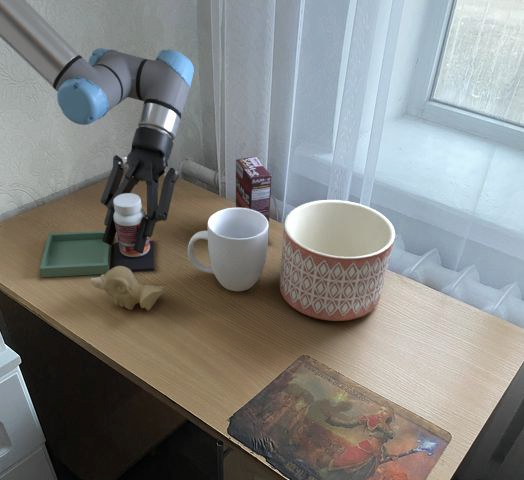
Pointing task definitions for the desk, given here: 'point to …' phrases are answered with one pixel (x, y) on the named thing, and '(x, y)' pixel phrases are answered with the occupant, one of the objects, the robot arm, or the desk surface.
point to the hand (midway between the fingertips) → (122, 247)
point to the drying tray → (75, 254)
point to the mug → (234, 247)
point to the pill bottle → (128, 223)
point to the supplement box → (253, 186)
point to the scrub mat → (134, 259)
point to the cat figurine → (127, 288)
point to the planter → (335, 259)
